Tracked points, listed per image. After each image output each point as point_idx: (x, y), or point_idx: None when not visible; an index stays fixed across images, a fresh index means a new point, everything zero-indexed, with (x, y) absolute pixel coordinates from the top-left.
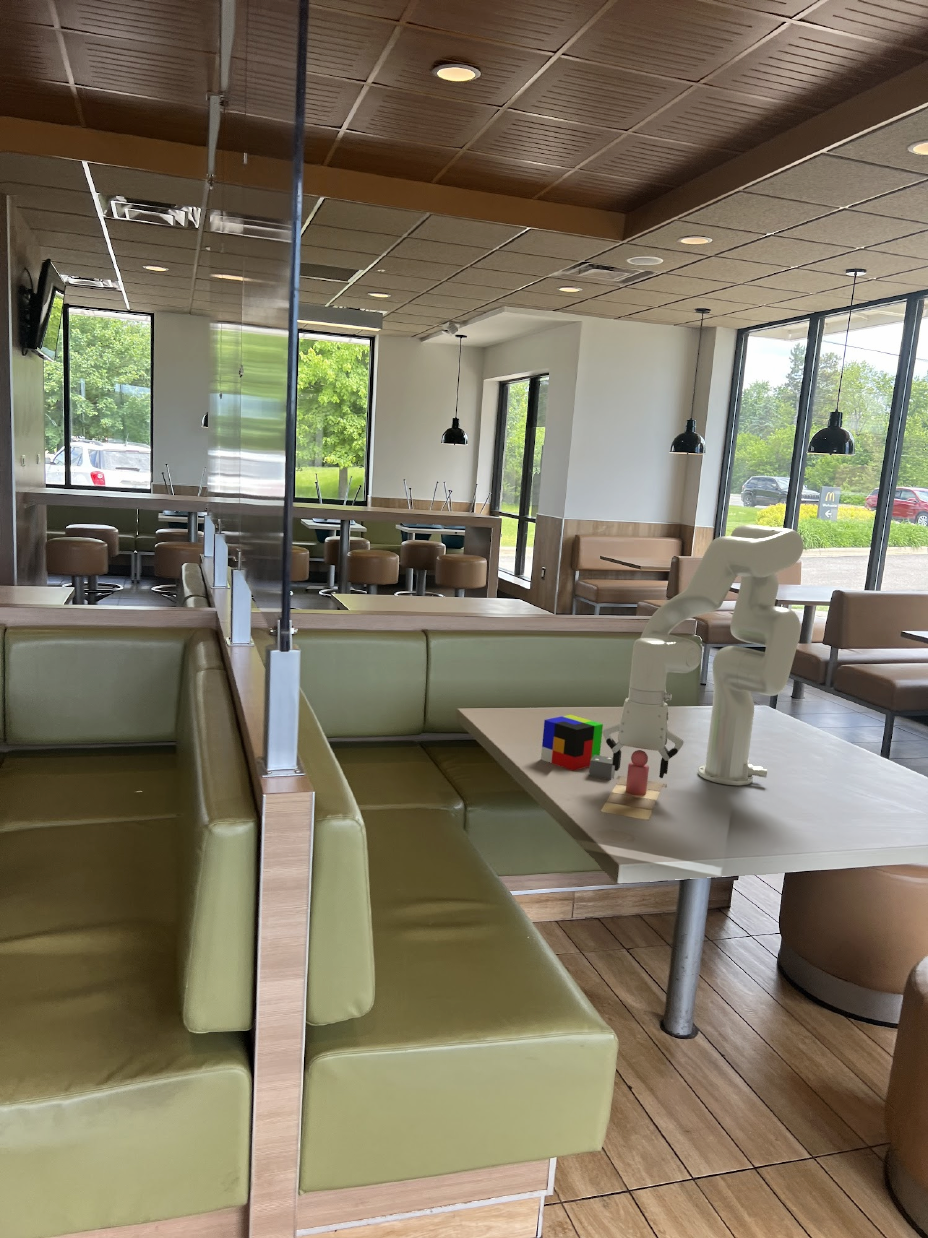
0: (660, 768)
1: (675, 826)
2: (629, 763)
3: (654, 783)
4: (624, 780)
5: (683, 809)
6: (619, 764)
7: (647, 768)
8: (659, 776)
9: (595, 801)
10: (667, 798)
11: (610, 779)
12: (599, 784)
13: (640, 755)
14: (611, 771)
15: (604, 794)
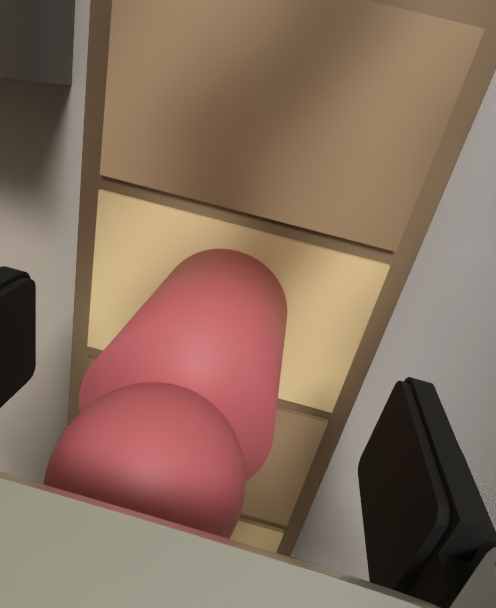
0: (368, 536)
1: None
2: (85, 386)
3: (397, 57)
4: (149, 65)
5: (480, 412)
6: (10, 336)
7: (253, 473)
8: (359, 472)
9: (38, 391)
10: (438, 258)
11: (47, 82)
12: (4, 99)
13: None
14: (7, 78)
15: (63, 286)
